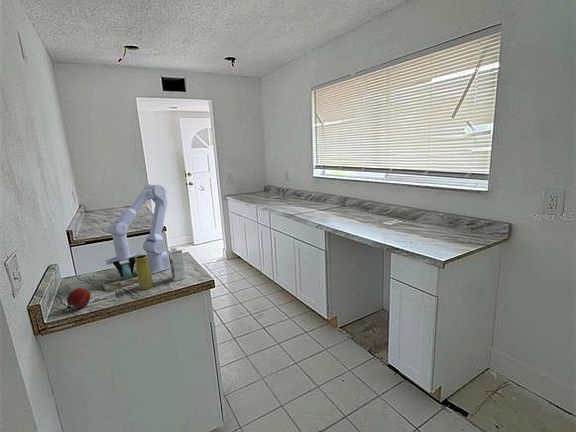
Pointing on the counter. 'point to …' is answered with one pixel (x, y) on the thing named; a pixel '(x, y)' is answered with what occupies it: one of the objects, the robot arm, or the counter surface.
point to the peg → (126, 271)
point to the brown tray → (119, 282)
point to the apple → (79, 298)
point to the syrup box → (176, 263)
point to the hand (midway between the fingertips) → (126, 274)
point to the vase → (143, 272)
